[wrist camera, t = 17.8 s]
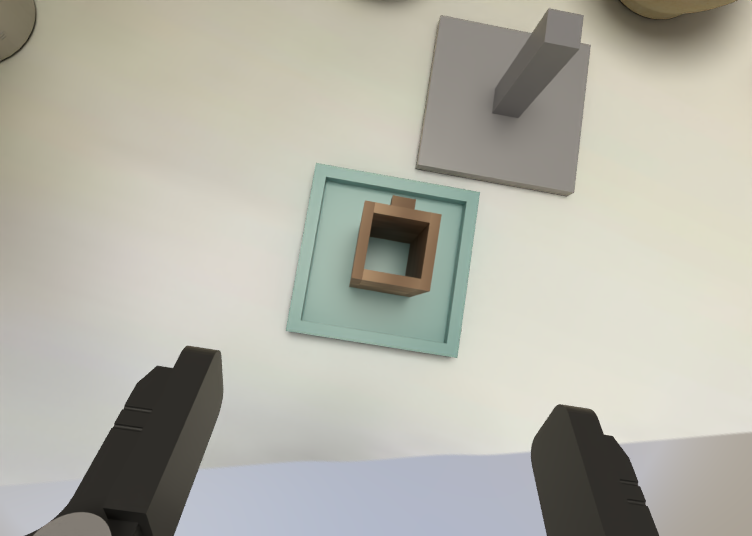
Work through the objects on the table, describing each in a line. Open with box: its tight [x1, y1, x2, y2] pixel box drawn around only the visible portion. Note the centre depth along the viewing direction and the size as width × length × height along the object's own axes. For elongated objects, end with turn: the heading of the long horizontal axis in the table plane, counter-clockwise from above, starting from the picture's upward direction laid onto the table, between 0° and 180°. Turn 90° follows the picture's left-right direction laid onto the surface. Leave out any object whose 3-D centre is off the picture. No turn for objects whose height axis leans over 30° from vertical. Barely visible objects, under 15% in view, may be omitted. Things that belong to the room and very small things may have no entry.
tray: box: [286, 163, 480, 358], centre depth 40 cm, size 14×14×2 cm
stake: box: [416, 8, 591, 196], centre depth 37 cm, size 14×14×12 cm
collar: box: [349, 195, 442, 297], centre depth 35 cm, size 5×6×9 cm
